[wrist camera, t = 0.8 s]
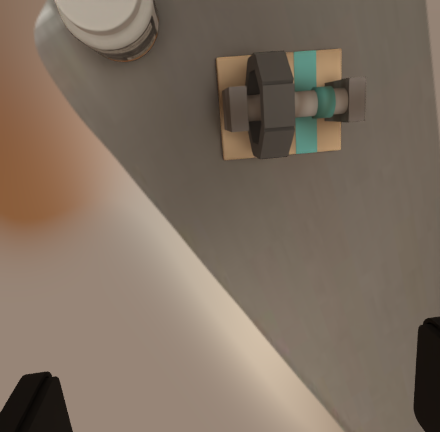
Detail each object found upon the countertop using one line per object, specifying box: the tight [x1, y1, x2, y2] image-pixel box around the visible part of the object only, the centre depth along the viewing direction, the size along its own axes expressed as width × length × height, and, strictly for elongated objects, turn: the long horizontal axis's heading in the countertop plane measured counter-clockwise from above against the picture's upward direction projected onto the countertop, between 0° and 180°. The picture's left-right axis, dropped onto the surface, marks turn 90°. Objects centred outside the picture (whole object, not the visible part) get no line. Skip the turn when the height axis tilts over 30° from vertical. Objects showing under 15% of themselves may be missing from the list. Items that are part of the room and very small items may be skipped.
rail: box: [216, 49, 366, 160], centre depth 29 cm, size 8×10×6 cm
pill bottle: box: [54, 0, 159, 62], centre depth 25 cm, size 6×6×10 cm
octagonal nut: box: [245, 51, 296, 159], centre depth 27 cm, size 7×2×7 cm, turn 4°
